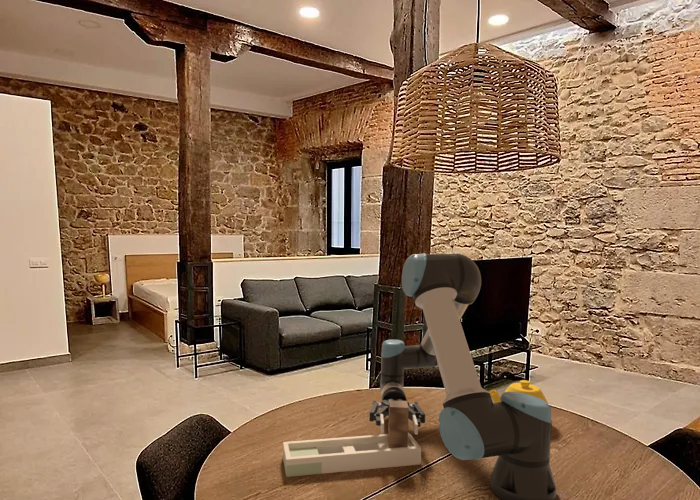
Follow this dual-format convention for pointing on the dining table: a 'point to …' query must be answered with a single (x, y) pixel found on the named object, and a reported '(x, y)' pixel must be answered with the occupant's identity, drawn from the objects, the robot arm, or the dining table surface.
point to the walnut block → (398, 424)
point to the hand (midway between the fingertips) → (399, 428)
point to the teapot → (520, 390)
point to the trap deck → (347, 454)
